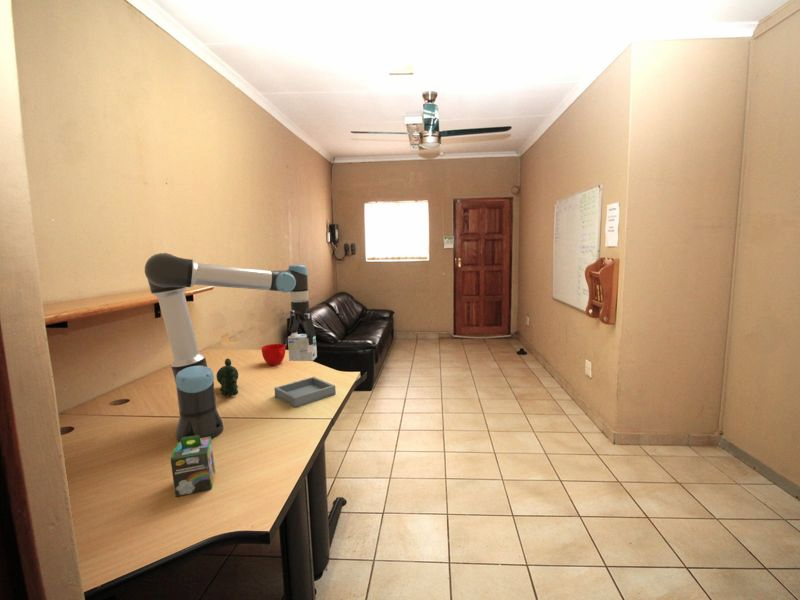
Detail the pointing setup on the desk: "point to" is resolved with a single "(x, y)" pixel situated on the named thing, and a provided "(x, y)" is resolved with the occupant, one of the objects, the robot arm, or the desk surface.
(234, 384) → the toy figurine
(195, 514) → the desk surface
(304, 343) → the light bulb box
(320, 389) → the gray tray
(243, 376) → the desk surface
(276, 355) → the ceramic cup
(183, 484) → the chalk box
